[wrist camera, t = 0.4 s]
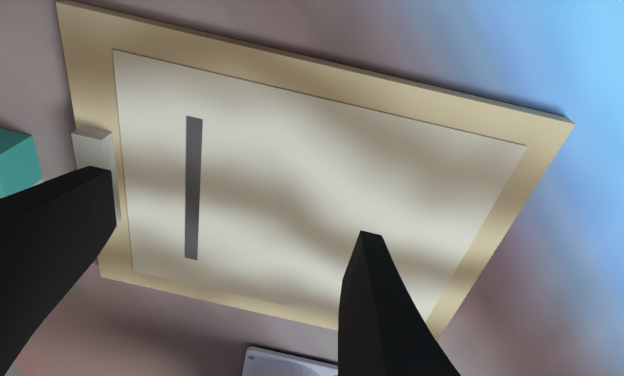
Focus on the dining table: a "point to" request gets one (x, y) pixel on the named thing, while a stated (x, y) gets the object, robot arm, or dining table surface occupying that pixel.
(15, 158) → the eraser
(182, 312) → the dining table surface
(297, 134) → the cream rectangular tray
